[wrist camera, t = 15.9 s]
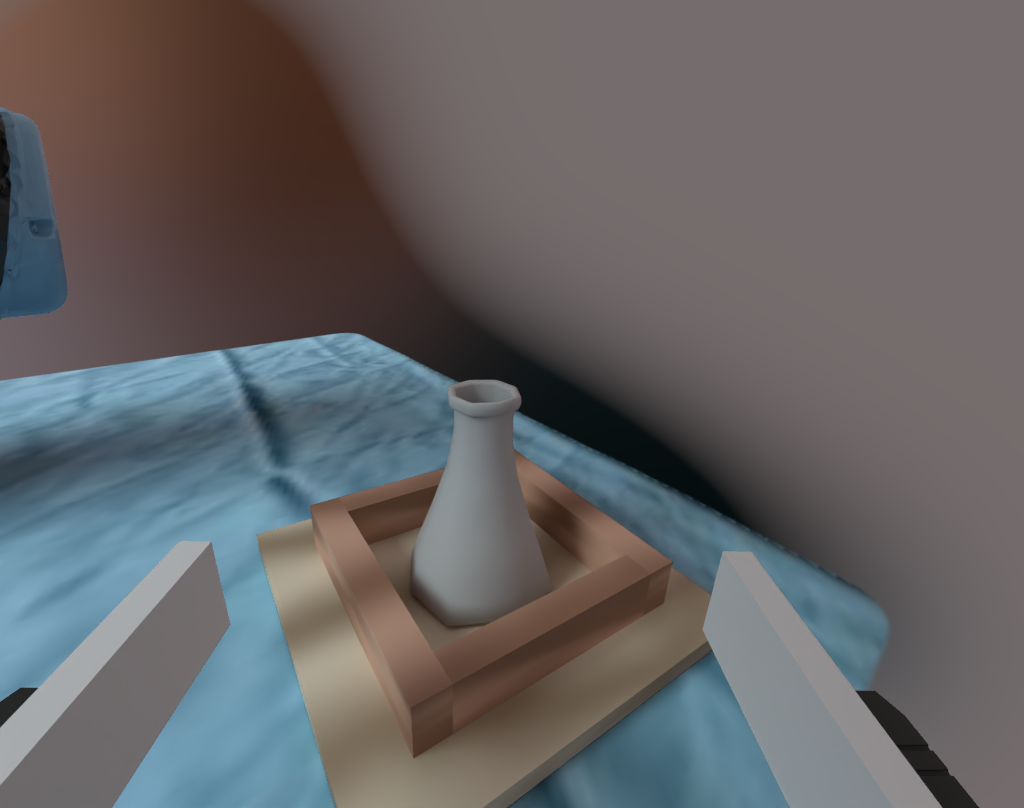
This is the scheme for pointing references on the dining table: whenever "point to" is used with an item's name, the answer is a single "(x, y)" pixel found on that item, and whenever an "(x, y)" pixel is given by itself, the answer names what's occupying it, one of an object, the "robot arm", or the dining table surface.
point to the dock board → (471, 647)
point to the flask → (479, 518)
